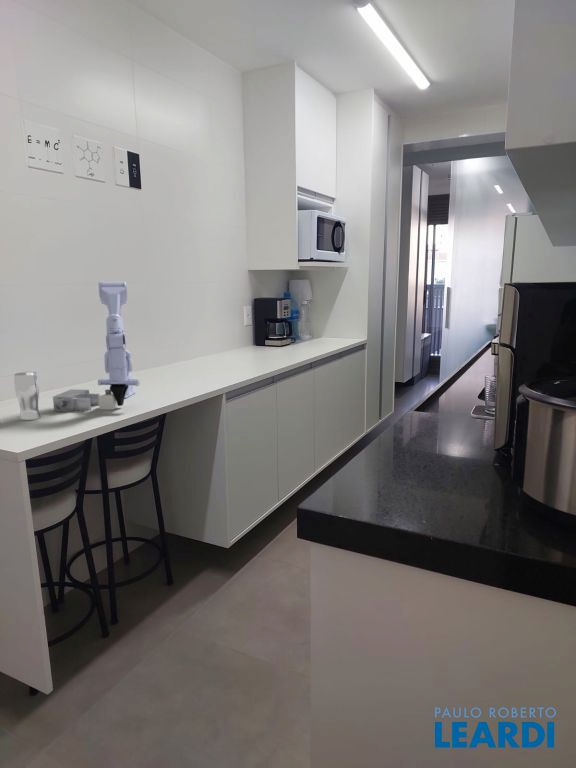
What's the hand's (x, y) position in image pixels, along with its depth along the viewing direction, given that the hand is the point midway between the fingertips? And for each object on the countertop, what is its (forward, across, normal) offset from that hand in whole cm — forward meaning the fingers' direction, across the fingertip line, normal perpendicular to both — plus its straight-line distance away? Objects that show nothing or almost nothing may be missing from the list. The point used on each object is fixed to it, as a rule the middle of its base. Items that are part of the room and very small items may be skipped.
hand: (120, 405), depth 180 cm
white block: (+1, -4, 0) cm, 4 cm away
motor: (+1, -16, -1) cm, 16 cm away
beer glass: (+1, -24, -16) cm, 29 cm away
